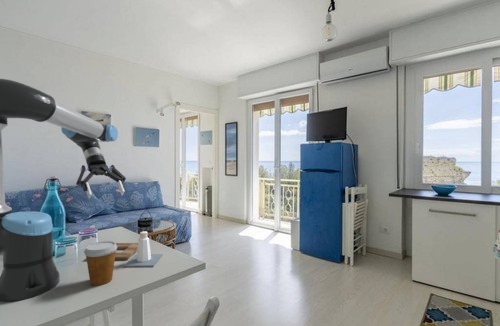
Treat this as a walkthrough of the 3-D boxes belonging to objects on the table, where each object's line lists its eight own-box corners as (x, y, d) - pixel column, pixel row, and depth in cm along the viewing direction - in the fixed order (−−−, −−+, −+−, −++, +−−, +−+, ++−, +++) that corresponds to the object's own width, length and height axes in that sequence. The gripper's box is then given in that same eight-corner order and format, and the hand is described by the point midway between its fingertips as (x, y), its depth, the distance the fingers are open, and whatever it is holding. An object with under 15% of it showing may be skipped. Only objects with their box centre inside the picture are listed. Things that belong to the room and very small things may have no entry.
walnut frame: (127, 260, 101) (127, 256, 101) (86, 260, 100) (86, 256, 100) (142, 246, 117) (142, 242, 117) (107, 246, 116) (107, 243, 116)
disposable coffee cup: (103, 272, 90) (103, 239, 90) (124, 277, 87) (123, 242, 87) (77, 285, 81) (76, 248, 81) (99, 290, 78) (98, 252, 78)
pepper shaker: (142, 263, 96) (141, 234, 96) (133, 260, 99) (133, 232, 99) (154, 258, 101) (154, 231, 101) (145, 255, 104) (145, 229, 104)
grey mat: (153, 266, 95) (153, 265, 95) (123, 267, 94) (123, 265, 94) (162, 255, 106) (162, 254, 106) (135, 255, 105) (135, 254, 105)
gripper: (119, 164, 132) (132, 196, 123) (61, 164, 113) (72, 203, 104) (124, 154, 129) (137, 187, 120) (65, 153, 109) (76, 192, 100)
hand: (107, 194), depth 112 cm, fingers open, 13 cm apart
